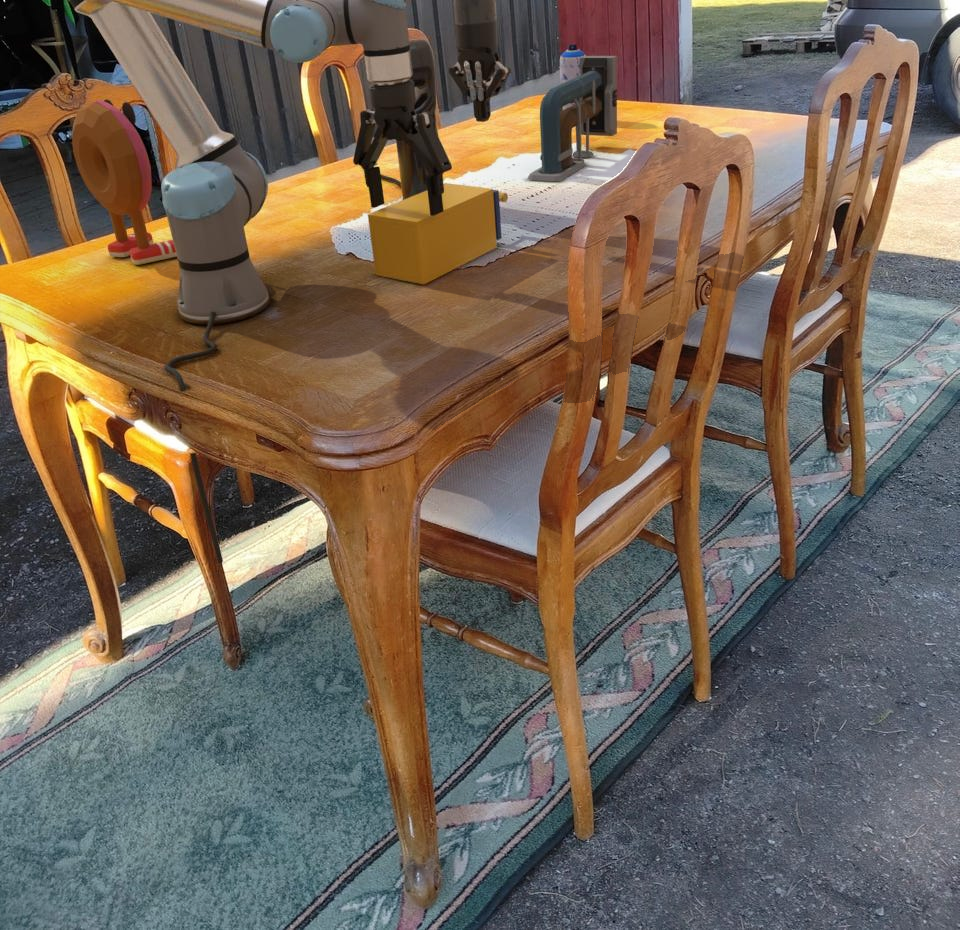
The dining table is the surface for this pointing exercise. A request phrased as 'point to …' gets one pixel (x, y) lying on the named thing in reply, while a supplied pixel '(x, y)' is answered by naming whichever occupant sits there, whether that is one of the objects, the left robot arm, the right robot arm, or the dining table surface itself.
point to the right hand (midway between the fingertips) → (482, 120)
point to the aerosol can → (570, 66)
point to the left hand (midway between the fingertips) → (406, 209)
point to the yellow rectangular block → (432, 233)
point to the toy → (118, 176)
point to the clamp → (577, 117)
